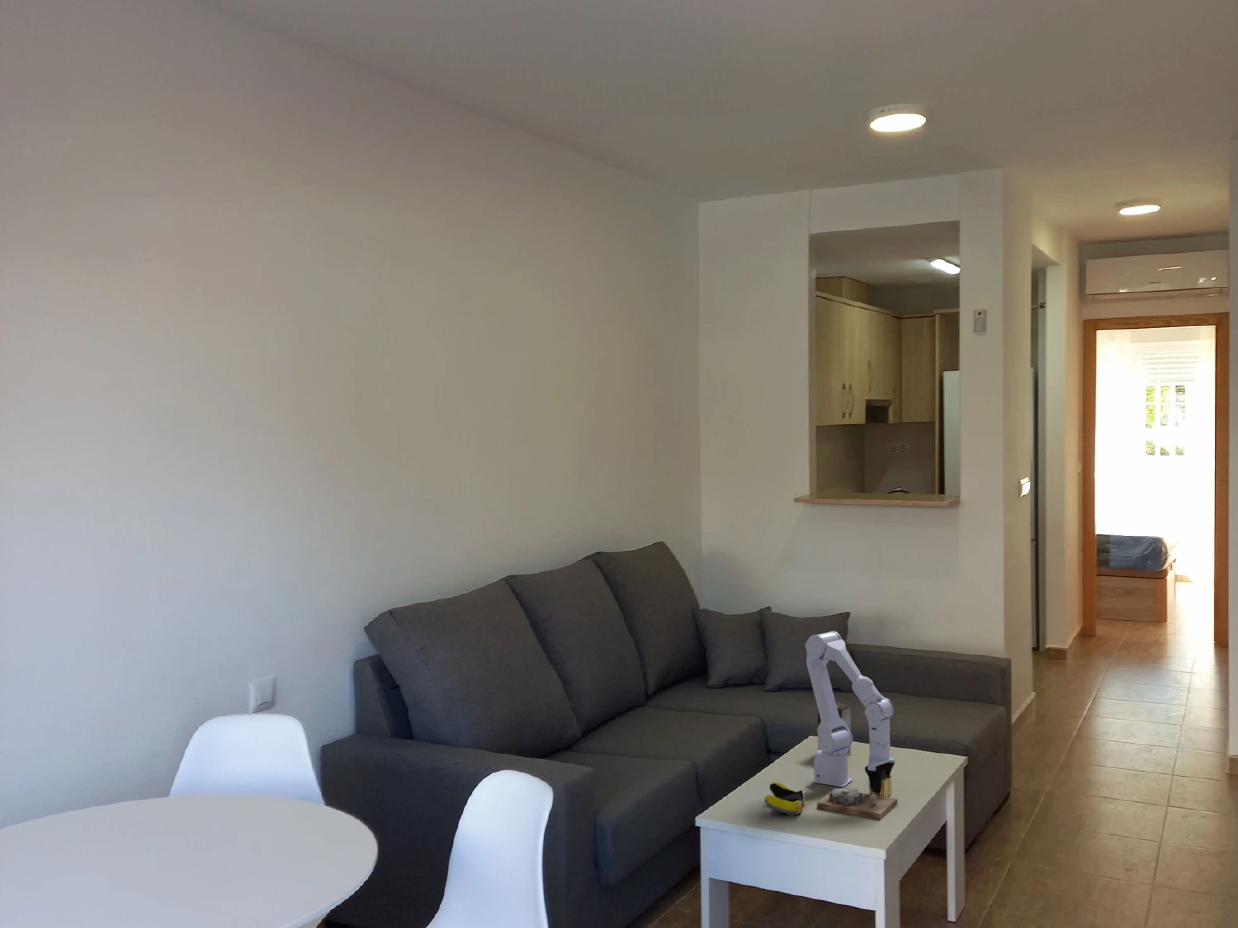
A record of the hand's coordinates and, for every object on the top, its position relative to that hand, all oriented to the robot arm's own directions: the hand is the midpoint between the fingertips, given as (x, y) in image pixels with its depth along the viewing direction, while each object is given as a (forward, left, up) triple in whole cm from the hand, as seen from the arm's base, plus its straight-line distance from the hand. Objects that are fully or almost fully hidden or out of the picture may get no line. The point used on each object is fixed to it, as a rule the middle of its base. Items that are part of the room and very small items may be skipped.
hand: (880, 789), depth 309 cm
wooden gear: (0, 0, -1) cm, 1 cm away
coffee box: (-26, +31, -2) cm, 40 cm away
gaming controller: (-18, -25, -2) cm, 31 cm away
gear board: (-2, -13, -1) cm, 13 cm away
